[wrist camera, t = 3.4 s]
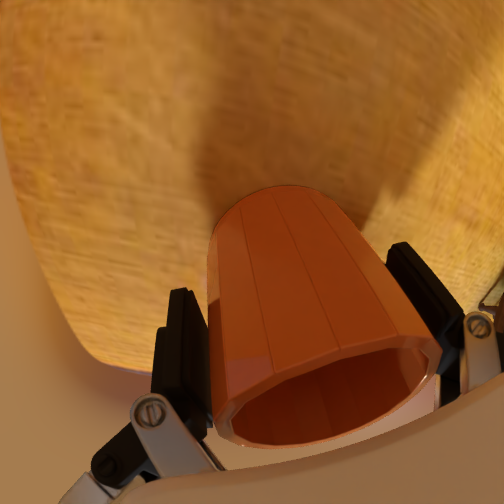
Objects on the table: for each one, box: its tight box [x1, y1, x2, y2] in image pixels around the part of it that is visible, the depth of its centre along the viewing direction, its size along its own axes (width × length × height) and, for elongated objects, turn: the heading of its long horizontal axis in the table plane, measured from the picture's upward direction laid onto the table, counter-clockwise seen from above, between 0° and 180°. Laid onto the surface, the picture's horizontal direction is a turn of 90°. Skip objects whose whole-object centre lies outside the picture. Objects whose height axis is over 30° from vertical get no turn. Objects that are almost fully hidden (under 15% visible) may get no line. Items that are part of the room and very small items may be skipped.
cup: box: [207, 186, 443, 449], centre depth 10 cm, size 6×6×8 cm
